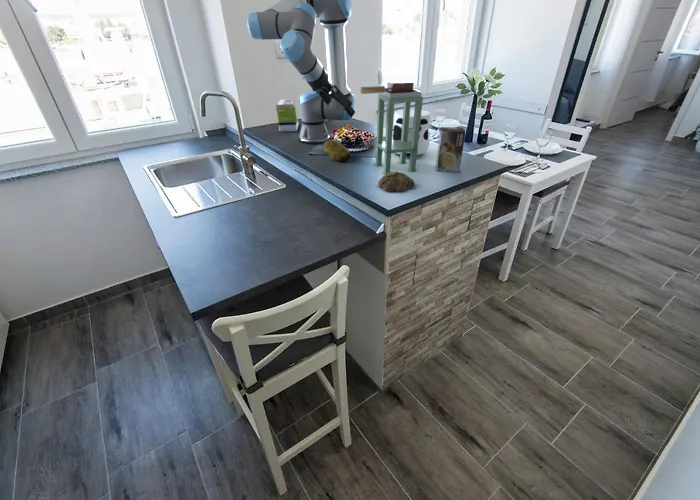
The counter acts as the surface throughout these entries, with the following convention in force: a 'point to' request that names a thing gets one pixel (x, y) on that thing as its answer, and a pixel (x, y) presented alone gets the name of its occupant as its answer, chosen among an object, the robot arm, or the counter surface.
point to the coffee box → (450, 149)
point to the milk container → (423, 133)
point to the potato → (336, 150)
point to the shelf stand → (403, 144)
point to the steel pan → (402, 94)
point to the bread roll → (396, 182)
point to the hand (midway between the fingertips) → (340, 108)
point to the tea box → (287, 115)
